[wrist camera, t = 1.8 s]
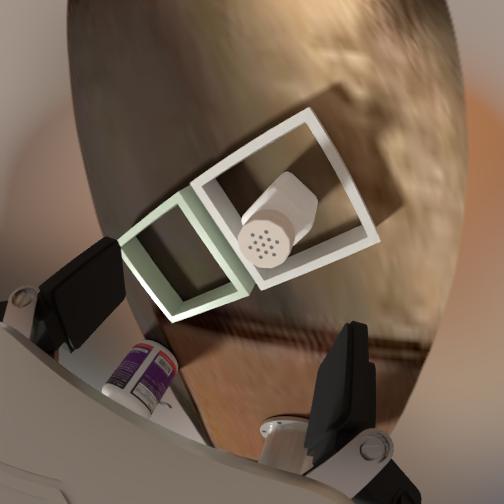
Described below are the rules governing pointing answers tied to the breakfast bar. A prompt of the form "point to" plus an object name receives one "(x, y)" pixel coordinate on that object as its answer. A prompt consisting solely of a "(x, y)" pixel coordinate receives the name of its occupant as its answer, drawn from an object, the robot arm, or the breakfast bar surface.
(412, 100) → the breakfast bar surface
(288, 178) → the pepper shaker
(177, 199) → the green bin
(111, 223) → the breakfast bar surface
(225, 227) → the grey bin
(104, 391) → the pill bottle
